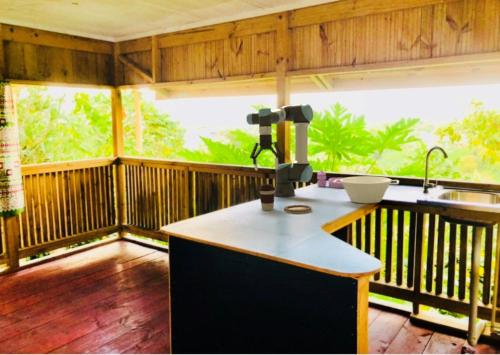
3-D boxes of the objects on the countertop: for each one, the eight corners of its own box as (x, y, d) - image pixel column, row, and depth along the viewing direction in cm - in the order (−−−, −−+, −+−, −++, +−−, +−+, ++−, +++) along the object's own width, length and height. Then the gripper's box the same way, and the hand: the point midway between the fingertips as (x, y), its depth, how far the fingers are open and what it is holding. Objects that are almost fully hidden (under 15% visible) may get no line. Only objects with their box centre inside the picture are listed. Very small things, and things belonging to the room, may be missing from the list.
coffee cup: (274, 210, 240) (273, 186, 238) (258, 210, 242) (257, 186, 240) (276, 207, 250) (276, 183, 248) (261, 207, 252) (260, 183, 250)
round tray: (279, 209, 244) (279, 206, 243) (303, 206, 249) (303, 203, 249) (291, 214, 228) (291, 211, 228) (316, 211, 234) (316, 208, 234)
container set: (349, 185, 325) (349, 169, 323) (346, 188, 311) (346, 171, 309) (319, 184, 335) (319, 169, 334) (314, 187, 322) (314, 171, 320)
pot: (329, 204, 252) (329, 182, 251) (338, 195, 282) (338, 175, 280) (397, 207, 237) (397, 183, 236) (399, 197, 267) (399, 176, 265)
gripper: (248, 135, 232) (249, 171, 235) (287, 133, 241) (287, 168, 244) (243, 134, 239) (245, 170, 242) (281, 133, 248) (282, 167, 251)
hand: (266, 169), depth 243 cm, fingers open, 13 cm apart
